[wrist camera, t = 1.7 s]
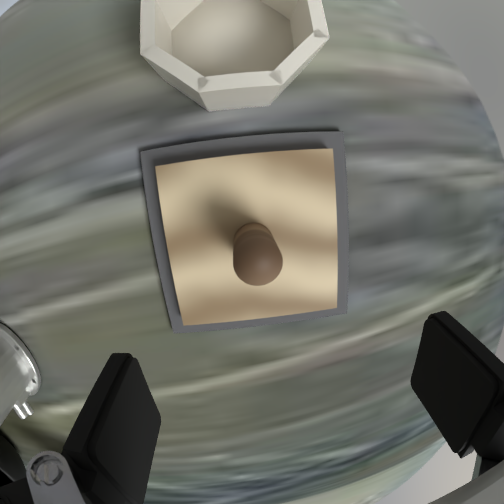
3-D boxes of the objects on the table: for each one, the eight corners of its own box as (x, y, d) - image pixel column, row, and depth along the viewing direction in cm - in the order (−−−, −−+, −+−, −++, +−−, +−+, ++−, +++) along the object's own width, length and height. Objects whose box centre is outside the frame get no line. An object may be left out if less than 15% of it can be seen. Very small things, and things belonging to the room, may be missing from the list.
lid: (333, 302, 27) (355, 337, 21) (185, 319, 27) (174, 358, 21) (328, 149, 23) (357, 146, 17) (159, 166, 23) (134, 167, 17)
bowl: (310, 104, 22) (337, 85, 16) (167, 118, 22) (142, 103, 15) (292, -7, 19) (308, -48, 12) (161, 4, 18) (142, -34, 12)
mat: (345, 310, 28) (346, 313, 28) (174, 330, 28) (173, 333, 27) (340, 132, 23) (343, 131, 23) (142, 151, 23) (140, 151, 22)
